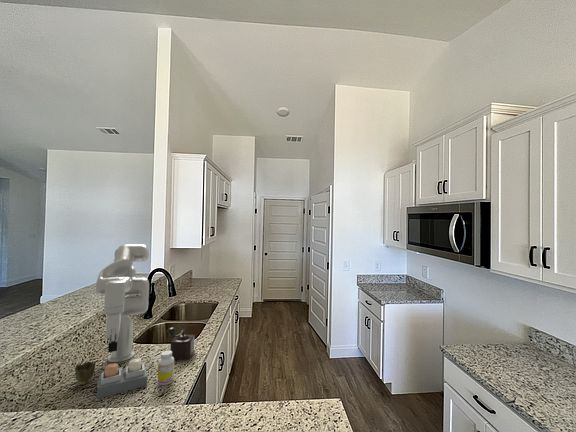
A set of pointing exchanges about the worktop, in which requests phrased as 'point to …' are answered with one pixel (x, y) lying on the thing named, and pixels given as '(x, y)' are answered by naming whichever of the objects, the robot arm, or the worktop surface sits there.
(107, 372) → the brown egg
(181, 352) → the dark brown coffee grinder
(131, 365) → the knob cream
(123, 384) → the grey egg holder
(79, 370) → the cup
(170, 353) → the supplement bottle
